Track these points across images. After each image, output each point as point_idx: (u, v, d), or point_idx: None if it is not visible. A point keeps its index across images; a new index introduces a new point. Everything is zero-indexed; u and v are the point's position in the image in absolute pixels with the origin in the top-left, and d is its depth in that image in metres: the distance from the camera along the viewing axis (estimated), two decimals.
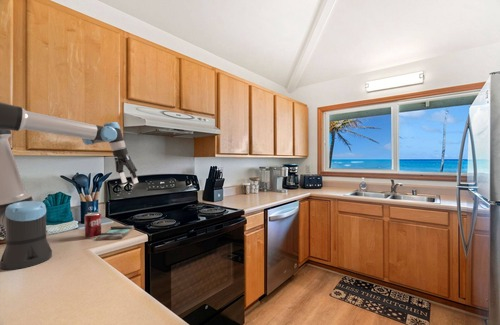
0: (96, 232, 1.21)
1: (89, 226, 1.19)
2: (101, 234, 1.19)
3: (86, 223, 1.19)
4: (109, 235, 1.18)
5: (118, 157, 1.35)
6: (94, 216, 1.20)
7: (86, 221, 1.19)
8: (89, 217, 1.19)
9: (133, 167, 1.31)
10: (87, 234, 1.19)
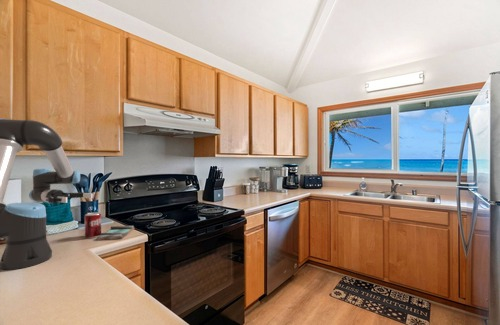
0: (96, 232, 1.21)
1: (89, 226, 1.19)
2: (101, 234, 1.19)
3: (86, 223, 1.19)
4: (109, 235, 1.18)
5: (55, 194, 1.29)
6: (94, 216, 1.20)
7: (86, 221, 1.19)
8: (89, 217, 1.19)
9: None
10: (87, 234, 1.19)
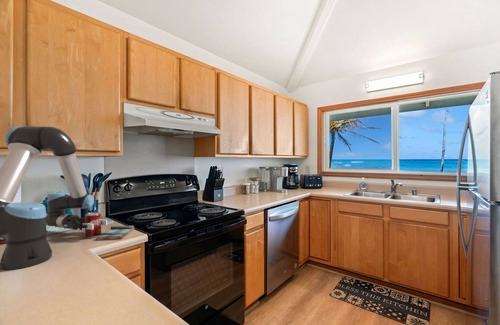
0: (96, 232, 1.21)
1: None
2: (101, 234, 1.19)
3: None
4: (109, 235, 1.18)
5: (70, 221, 1.25)
6: (94, 216, 1.20)
7: (86, 221, 1.19)
8: (89, 217, 1.19)
9: None
10: (87, 234, 1.19)
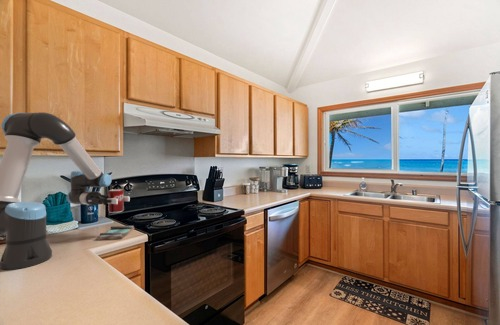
0: (119, 207, 1.24)
1: None
2: (101, 234, 1.19)
3: None
4: (109, 235, 1.18)
5: (93, 197, 1.28)
6: (118, 191, 1.24)
7: (110, 196, 1.23)
8: (113, 192, 1.23)
9: None
10: (111, 209, 1.23)
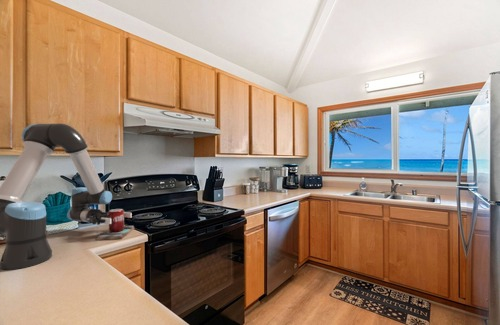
0: (119, 228, 1.24)
1: (113, 222, 1.23)
2: (101, 234, 1.19)
3: None
4: (109, 235, 1.18)
5: (95, 214, 1.28)
6: (118, 212, 1.24)
7: (110, 217, 1.23)
8: (113, 213, 1.23)
9: None
10: (111, 229, 1.23)
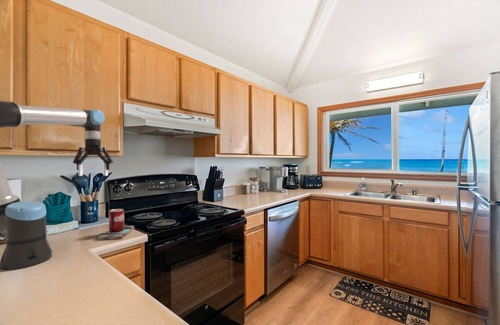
0: (119, 228, 1.24)
1: (113, 222, 1.23)
2: (101, 234, 1.19)
3: (110, 219, 1.23)
4: (109, 235, 1.18)
5: (88, 147, 1.31)
6: (118, 212, 1.24)
7: (110, 217, 1.23)
8: (113, 213, 1.23)
9: (110, 158, 1.34)
10: (111, 229, 1.23)
